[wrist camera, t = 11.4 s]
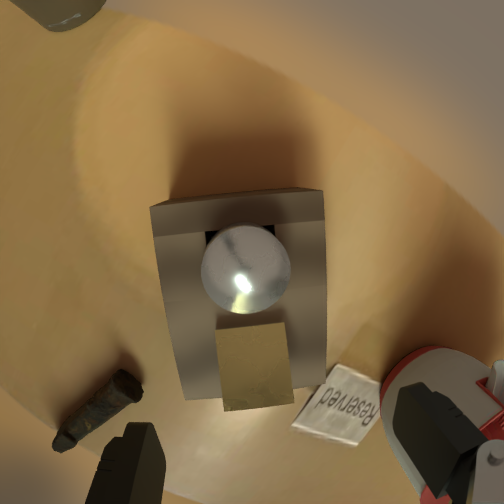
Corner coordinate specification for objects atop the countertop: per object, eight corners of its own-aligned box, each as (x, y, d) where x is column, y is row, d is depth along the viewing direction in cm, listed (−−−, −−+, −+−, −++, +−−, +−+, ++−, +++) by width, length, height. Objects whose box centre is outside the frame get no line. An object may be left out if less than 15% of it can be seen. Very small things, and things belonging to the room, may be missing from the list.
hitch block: (168, 199, 29) (149, 206, 21) (297, 187, 30) (322, 190, 22) (191, 353, 33) (185, 400, 25) (304, 341, 33) (325, 383, 26)
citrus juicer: (478, 321, 36) (577, 389, 16) (431, 420, 39) (496, 504, 20) (396, 311, 34) (512, 412, 14) (347, 427, 37) (403, 543, 18)
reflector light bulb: (204, 215, 29) (195, 232, 19) (267, 209, 29) (287, 223, 20) (211, 275, 30) (207, 317, 21) (271, 269, 30) (292, 308, 21)
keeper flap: (215, 330, 23) (214, 329, 22) (282, 323, 24) (284, 322, 23) (224, 409, 22) (224, 411, 21) (292, 400, 22) (294, 403, 21)
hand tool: (122, 361, 32) (110, 385, 28) (147, 385, 33) (139, 410, 29) (46, 421, 34) (34, 440, 29) (67, 438, 35) (57, 459, 30)
